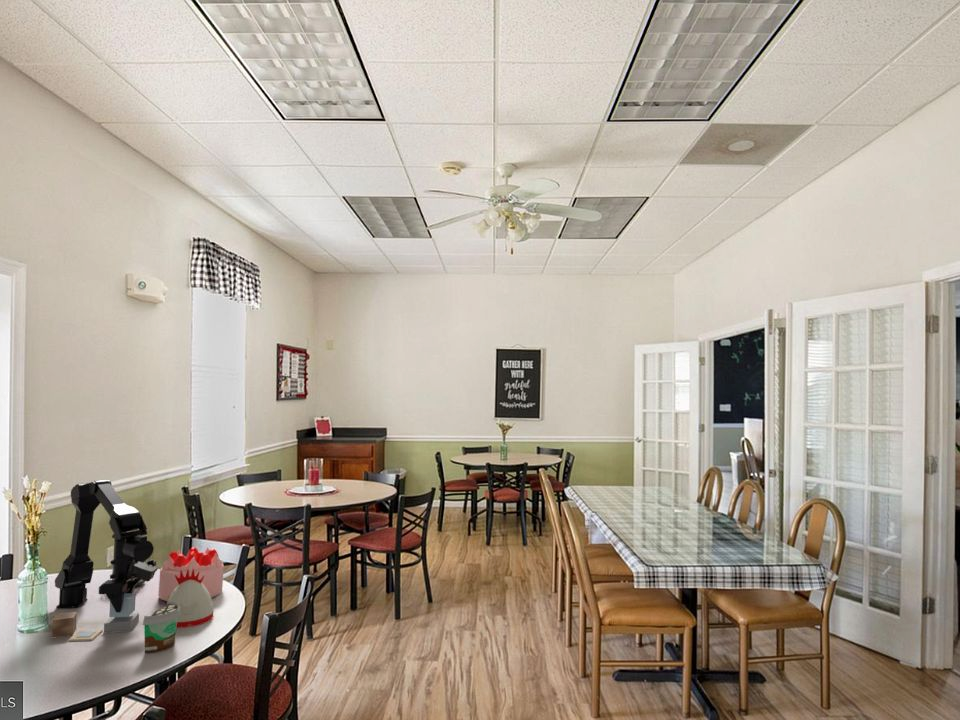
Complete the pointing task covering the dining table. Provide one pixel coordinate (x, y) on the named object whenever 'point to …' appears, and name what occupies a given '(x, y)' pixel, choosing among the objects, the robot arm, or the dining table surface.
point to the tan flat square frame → (85, 635)
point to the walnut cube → (64, 624)
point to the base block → (121, 623)
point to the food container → (161, 628)
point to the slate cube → (124, 606)
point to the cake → (195, 560)
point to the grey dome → (191, 600)
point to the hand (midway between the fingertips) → (122, 608)
